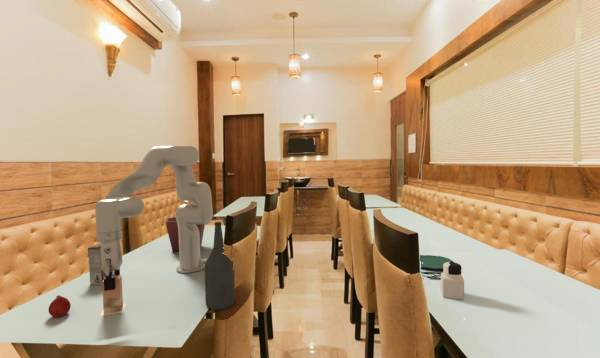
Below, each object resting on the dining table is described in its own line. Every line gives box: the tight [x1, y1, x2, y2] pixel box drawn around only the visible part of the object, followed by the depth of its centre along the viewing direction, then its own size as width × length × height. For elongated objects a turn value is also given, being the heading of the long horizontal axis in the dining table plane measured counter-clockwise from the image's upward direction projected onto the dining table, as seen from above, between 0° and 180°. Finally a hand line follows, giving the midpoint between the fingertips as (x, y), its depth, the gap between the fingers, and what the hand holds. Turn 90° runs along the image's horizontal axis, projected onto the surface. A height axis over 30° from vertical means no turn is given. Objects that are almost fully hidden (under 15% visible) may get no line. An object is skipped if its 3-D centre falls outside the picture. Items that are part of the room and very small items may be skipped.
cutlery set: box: [419, 254, 454, 280], centre depth 146 cm, size 20×30×2 cm, turn 164°
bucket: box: [165, 216, 206, 254], centre depth 186 cm, size 24×22×25 cm
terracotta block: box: [101, 274, 123, 300], centre depth 107 cm, size 5×5×6 cm
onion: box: [48, 294, 72, 318], centre depth 104 cm, size 6×6×8 cm
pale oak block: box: [102, 292, 124, 314], centre depth 107 cm, size 5×5×5 cm
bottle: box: [203, 221, 236, 311], centre depth 112 cm, size 10×10×30 cm
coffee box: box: [87, 243, 104, 286], centre depth 137 cm, size 9×6×16 cm
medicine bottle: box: [440, 261, 465, 300], centre depth 116 cm, size 7×7×12 cm
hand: (112, 284), depth 107 cm, fingers open, 9 cm apart
